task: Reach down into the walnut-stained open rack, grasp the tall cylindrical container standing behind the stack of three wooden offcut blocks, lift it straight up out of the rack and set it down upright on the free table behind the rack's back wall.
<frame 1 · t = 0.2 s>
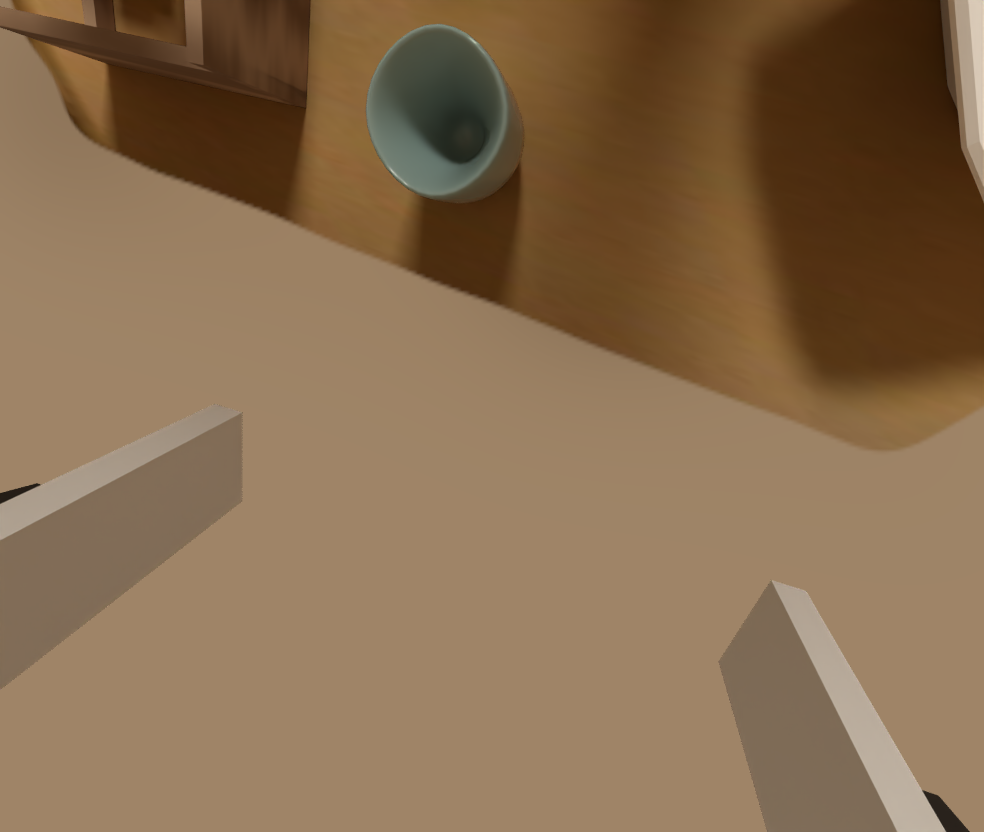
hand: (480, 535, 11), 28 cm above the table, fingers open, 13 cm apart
cup: (478, 147, 33), on the table
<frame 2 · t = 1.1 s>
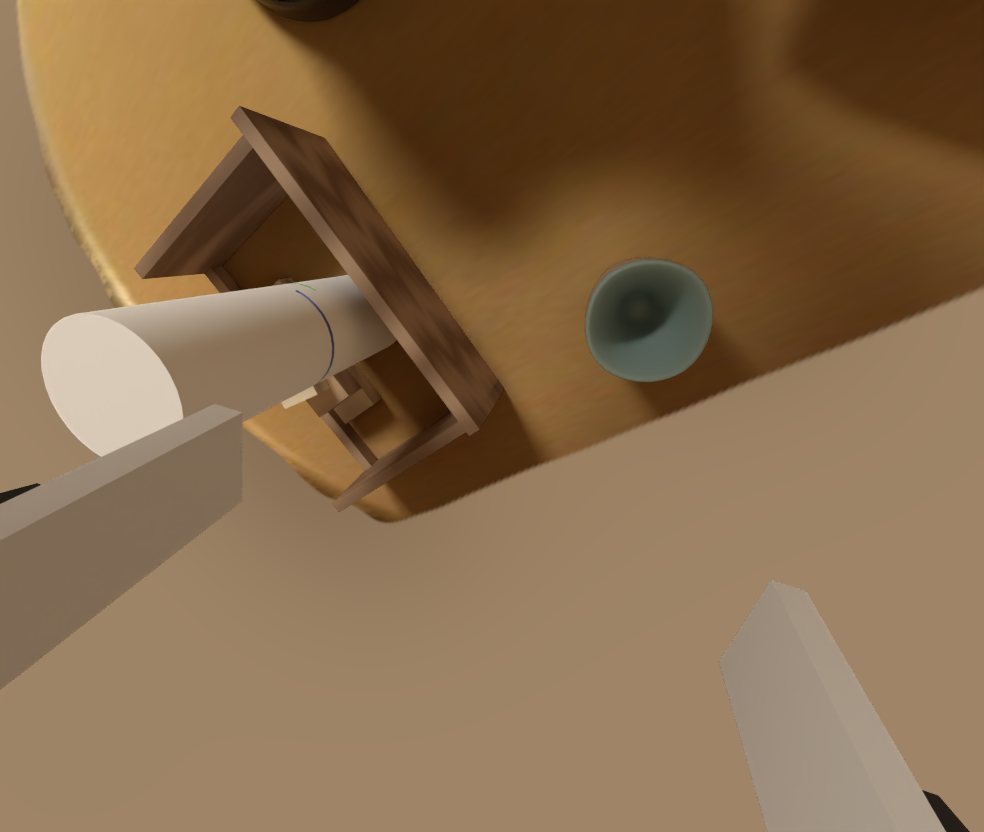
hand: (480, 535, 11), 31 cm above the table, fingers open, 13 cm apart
cup: (634, 303, 38), on the table
cylindrical container: (369, 312, 43), on the table
rack: (353, 325, 44), on the table
offcut bottom: (327, 349, 46), on the table, touching offcut middle
offcut middle: (310, 351, 44), point 2 cm above the table, touching offcut bottom
offcut top: (294, 360, 41), point 4 cm above the table
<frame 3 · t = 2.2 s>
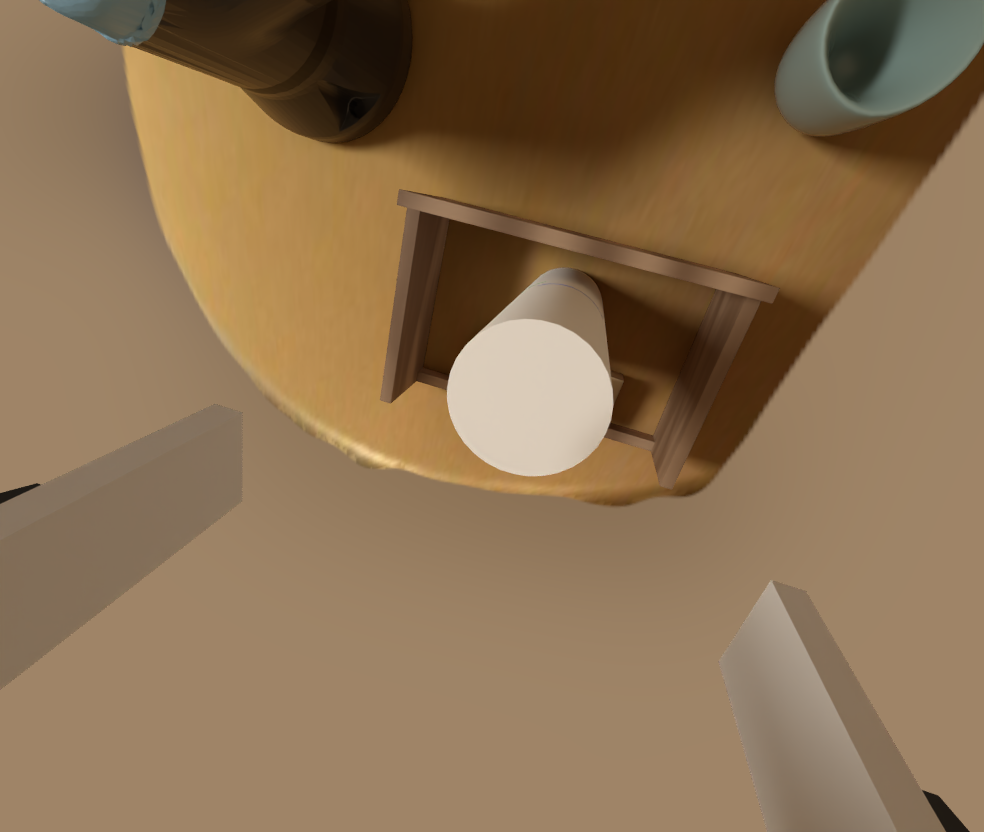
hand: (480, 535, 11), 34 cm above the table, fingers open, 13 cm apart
cup: (819, 83, 33), on the table
cylindrical container: (562, 307, 43), on the table
rack: (556, 329, 43), on the table
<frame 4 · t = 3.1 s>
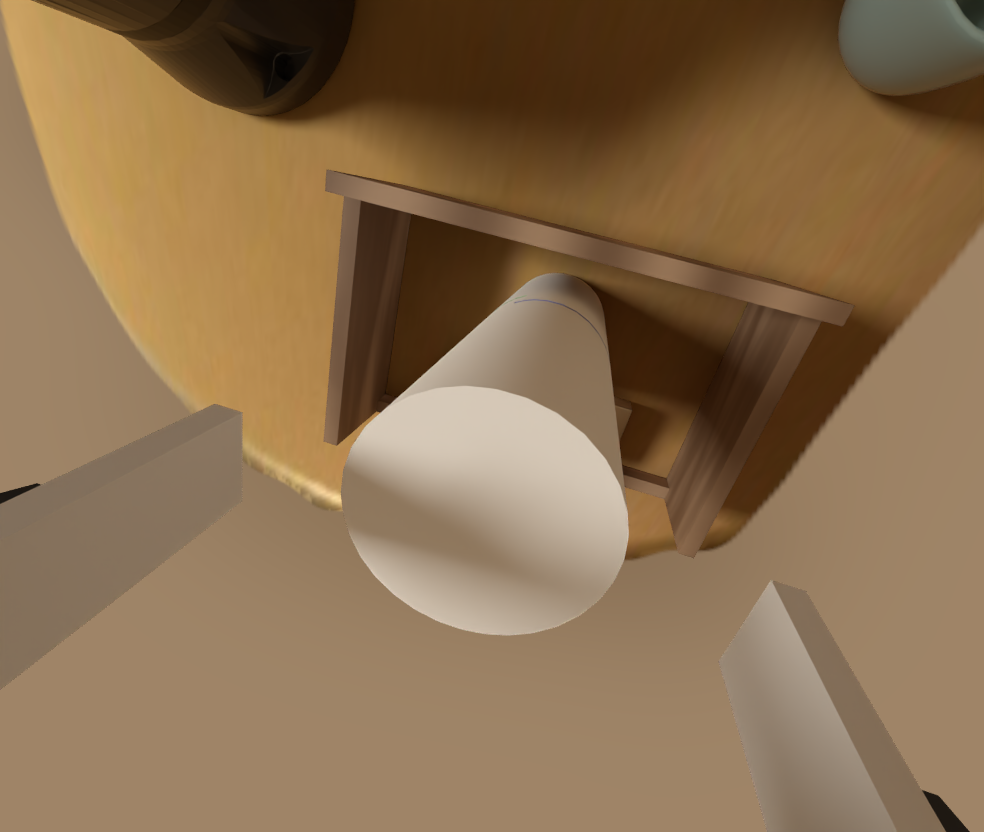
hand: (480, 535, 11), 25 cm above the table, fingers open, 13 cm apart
cup: (896, 25, 25), on the table
cylindrical container: (554, 323, 34), on the table
rack: (547, 349, 35), on the table
offcut bottom: (535, 395, 37), on the table, touching offcut middle
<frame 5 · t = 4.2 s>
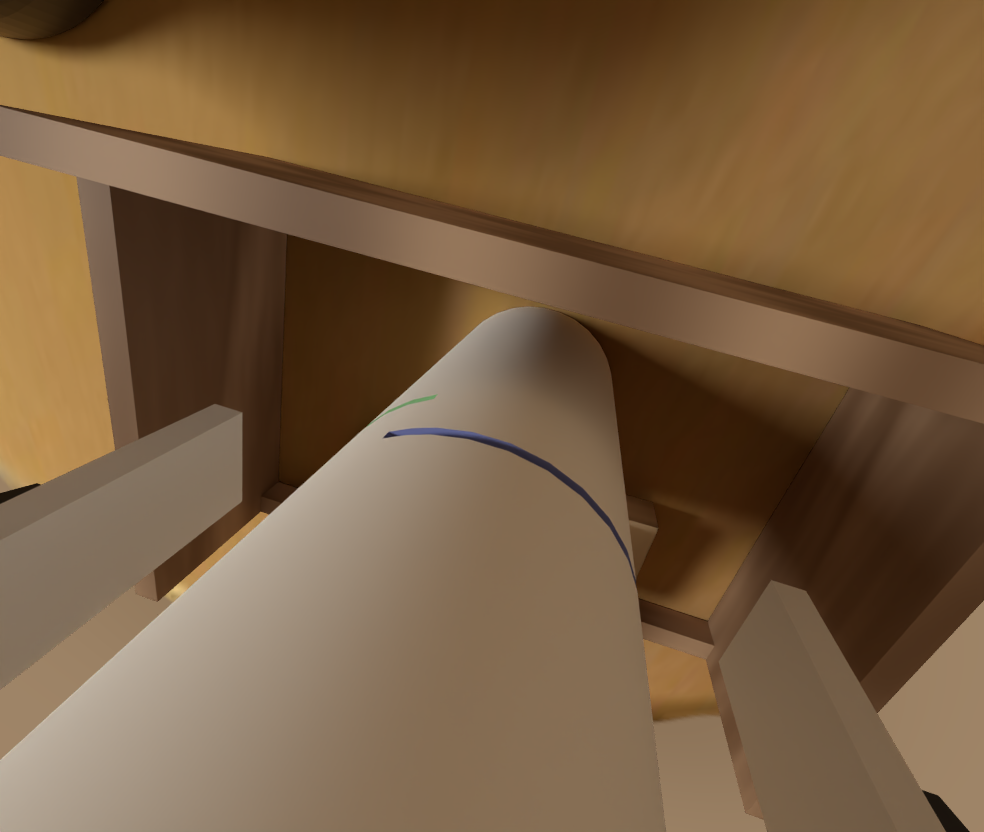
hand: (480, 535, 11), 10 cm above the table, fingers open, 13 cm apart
cylindrical container: (530, 386, 21), on the table
rack: (518, 426, 21), on the table
offcut bottom: (502, 490, 24), on the table, touching offcut middle
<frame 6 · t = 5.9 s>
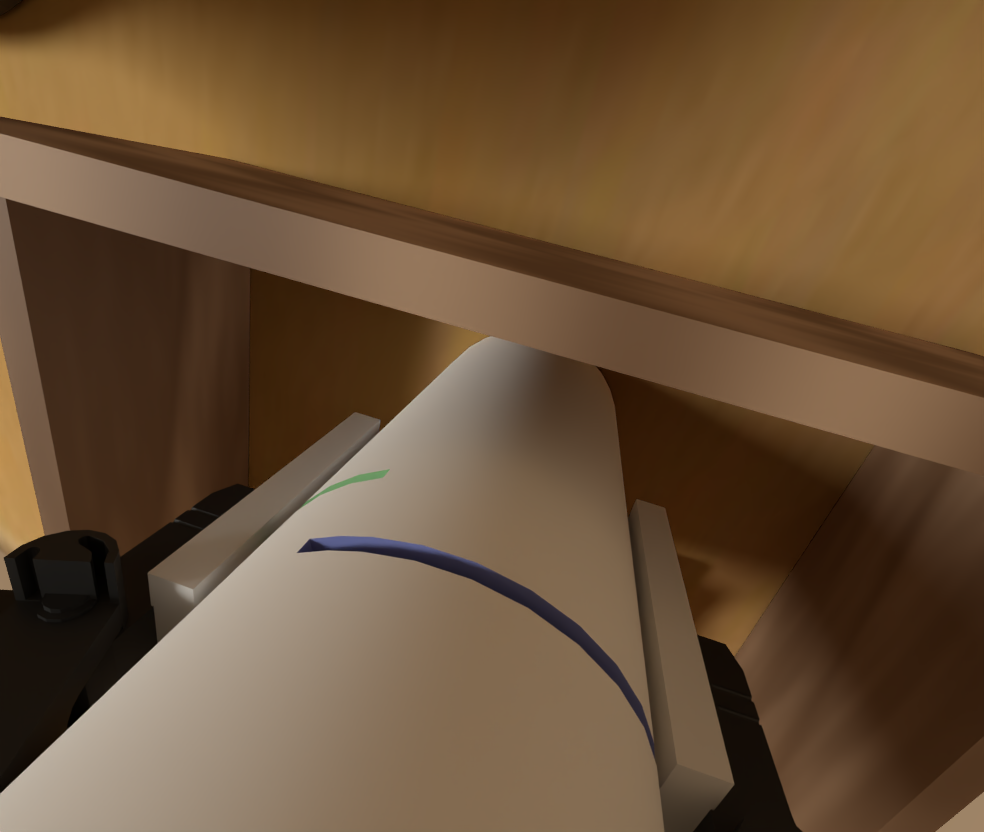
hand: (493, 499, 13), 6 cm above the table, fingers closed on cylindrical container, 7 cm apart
cylindrical container: (523, 418, 19), on the table, touching gripper
rack: (510, 460, 19), on the table
when the fingers open (8 cm above the table, at t = 14.7 s): cylindrical container drops 1 cm, on the table.
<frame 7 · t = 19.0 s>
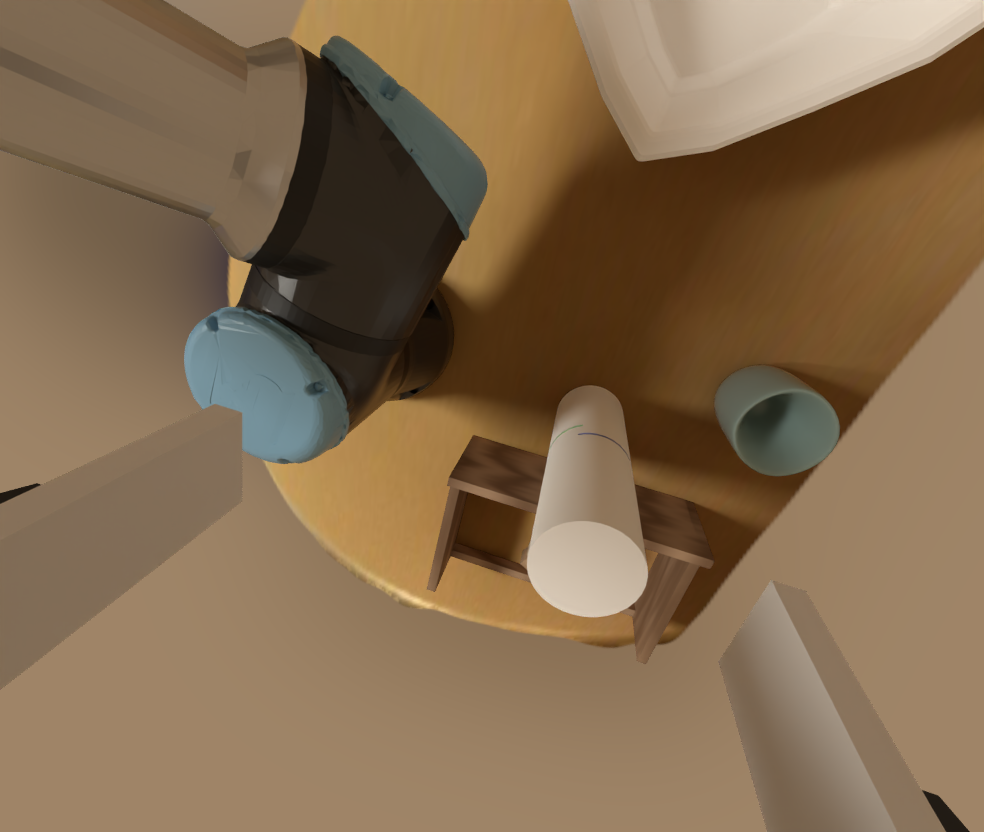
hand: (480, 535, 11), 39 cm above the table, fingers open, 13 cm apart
cup: (747, 393, 46), on the table
cylindrical container: (589, 415, 51), on the table
rack: (559, 526, 56), on the table
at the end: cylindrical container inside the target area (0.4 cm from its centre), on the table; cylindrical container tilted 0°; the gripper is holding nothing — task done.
